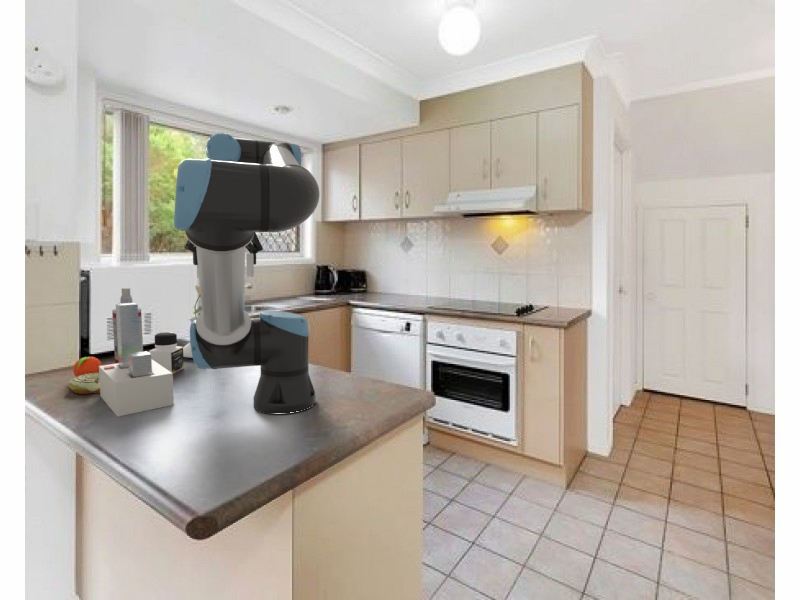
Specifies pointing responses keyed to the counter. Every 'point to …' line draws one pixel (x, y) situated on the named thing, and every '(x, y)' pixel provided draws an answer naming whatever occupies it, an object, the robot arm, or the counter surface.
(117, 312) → the upper square grey bar
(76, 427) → the counter surface
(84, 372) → the clementine
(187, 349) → the flower in vase
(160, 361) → the medicine bottle
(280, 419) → the counter surface
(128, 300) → the spray bottle
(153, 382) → the housing
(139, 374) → the grey square peg
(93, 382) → the decorated donut
